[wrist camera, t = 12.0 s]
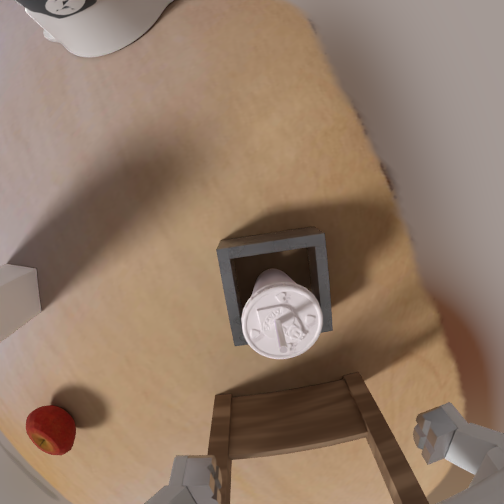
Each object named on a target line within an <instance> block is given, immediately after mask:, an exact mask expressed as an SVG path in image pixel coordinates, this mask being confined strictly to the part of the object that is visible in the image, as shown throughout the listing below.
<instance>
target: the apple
mask: <svg viewBox="0 0 504 504" xmlns="http://www.w3.org/2000/svg"><path fill="white" fill-rule="evenodd" d="M26 431H27V434H28V436H29V438H30V439H31V440H32V442H33V443H34V444H35V445H36V446H37V447H38V448H39V449H41V450H42V451H44V452H45V453H48V454H51V455H63V454H65V453H67V452H68V451H70V450H71V448H72V446H73V443H74V439H75V435H76V428H75V422H74V420H73V418H72V417H71V415H70V414H68V413H67V412H66V411H65V410H63V409H62V408H60V407H57V406H54V405H49V406H42V407H39V408H37V409H35V410H34V411H32V412H31V413H30V414H29V415H28V417H27V420H26Z"/></svg>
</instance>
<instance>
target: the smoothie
mask: <svg viewBox="0 0 504 504" xmlns="http://www.w3.org/2000/svg"><path fill="white" fill-rule="evenodd" d="M241 321H242V330H243V334H244V337H245V339H246V341H247V343H248V344H249V345H250V347H251V348H252V349H253V350H255V351H256V352H257V353H259V354H261V355H263V356H265V357H268V358H273V359H287V358H292V357H295V356H298V355H300V354H302V353H304V352H305V351H307V350H308V349H309V348H310V347H311V346H312V345H313V344H314V343H315V342H316V340H317V339H318V337H319V335H320V333H321V330H322V326H323V315H322V310H321V308H320V305H319V302H318V300H317V299H316V297H315V296H314V294H312V293H311V292H310V291H309V290H308V289H307V288H305V287H303V286H301V285H298V284H296V283H295V282H294V281H293V280H292V279H291V278H290V277H289V276H288V275H287V274H286V273H284V272H283V271H281V270H279V269H268V270H265V271H263V272H262V273H261V274H260V275H259V276H258V278H257V280H256V283H255V286H254V289H253V292H252V295H251V297H250V298H249V299H248V301H247V303H246V305H245V307H244V309H243V313H242V318H241Z"/></svg>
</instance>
